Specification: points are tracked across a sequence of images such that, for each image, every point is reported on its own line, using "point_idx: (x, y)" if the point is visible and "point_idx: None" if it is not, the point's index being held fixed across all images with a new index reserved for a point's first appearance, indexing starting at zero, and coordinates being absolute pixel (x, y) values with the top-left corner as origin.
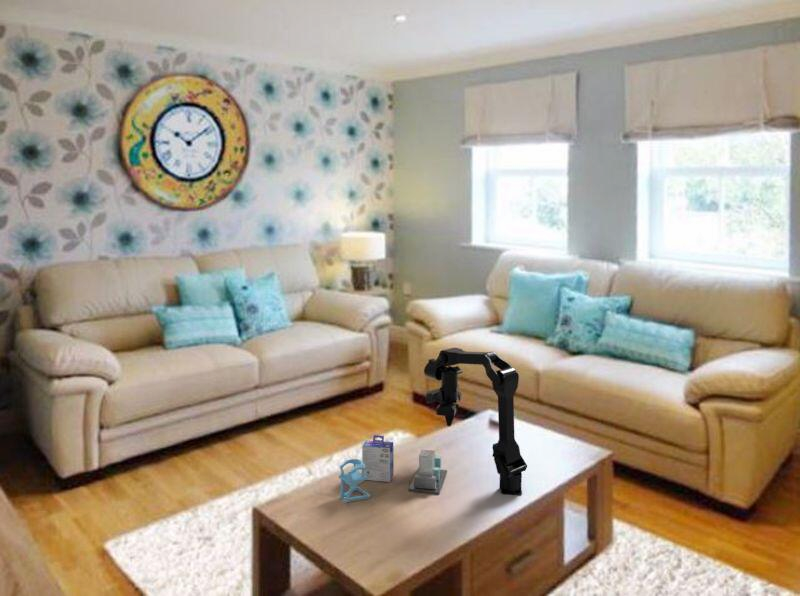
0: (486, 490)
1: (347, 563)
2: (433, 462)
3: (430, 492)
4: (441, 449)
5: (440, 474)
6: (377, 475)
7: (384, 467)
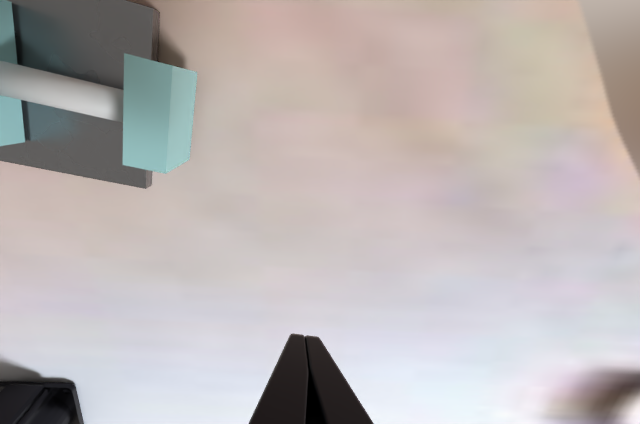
0: (5, 335)
1: None
2: None
3: None
4: (431, 172)
5: (81, 149)
6: None
7: None
